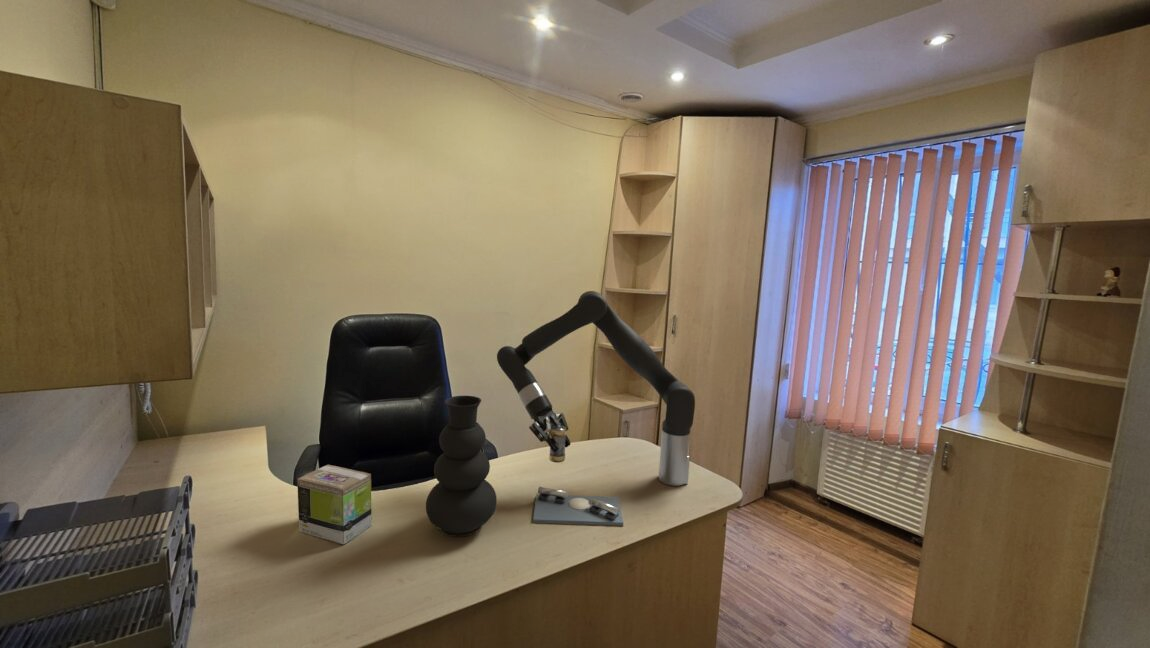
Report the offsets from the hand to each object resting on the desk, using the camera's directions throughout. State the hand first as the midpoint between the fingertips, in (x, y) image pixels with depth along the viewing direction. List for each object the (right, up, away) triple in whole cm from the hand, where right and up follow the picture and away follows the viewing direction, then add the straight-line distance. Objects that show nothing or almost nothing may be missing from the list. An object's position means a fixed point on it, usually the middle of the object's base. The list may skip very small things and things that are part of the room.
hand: (562, 448), depth 141 cm
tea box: (-59, -16, -19) cm, 64 cm away
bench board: (+5, -17, -5) cm, 18 cm away
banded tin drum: (-2, -4, +2) cm, 5 cm away
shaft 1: (-3, -16, -1) cm, 16 cm away
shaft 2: (+12, -18, -7) cm, 22 cm away
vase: (-27, -17, -15) cm, 35 cm away
